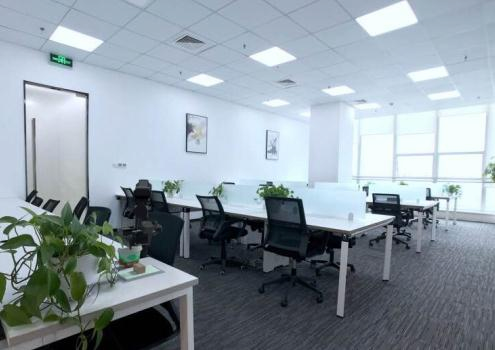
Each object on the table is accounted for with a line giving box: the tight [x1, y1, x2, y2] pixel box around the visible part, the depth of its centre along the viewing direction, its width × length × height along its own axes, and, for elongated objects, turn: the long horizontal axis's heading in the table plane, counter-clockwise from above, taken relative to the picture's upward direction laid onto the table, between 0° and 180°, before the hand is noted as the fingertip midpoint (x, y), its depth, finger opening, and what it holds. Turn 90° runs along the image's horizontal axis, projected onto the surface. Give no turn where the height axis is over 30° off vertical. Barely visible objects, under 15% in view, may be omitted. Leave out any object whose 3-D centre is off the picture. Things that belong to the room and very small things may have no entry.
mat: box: [115, 265, 166, 284], centre depth 129 cm, size 13×20×1 cm, turn 137°
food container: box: [116, 244, 142, 269], centre depth 138 cm, size 12×6×10 cm, turn 143°
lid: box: [116, 262, 162, 281], centre depth 129 cm, size 10×16×4 cm, turn 137°
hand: (140, 248), depth 129 cm, fingers open, 9 cm apart
